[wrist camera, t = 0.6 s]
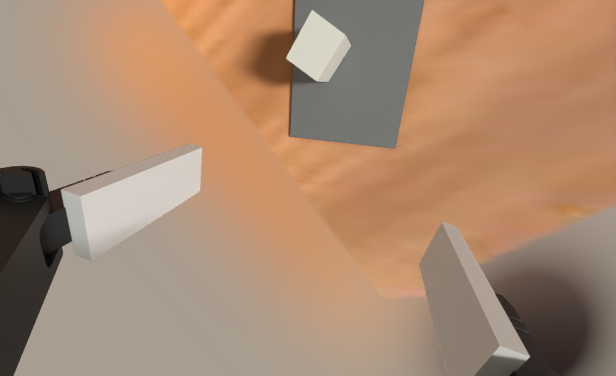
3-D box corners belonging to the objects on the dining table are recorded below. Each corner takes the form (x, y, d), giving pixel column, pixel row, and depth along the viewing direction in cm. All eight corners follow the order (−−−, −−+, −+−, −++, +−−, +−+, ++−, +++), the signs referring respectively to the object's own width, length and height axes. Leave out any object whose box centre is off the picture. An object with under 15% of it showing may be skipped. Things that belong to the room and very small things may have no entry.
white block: (304, 63, 34) (285, 58, 27) (325, 26, 32) (311, 9, 25) (328, 81, 35) (316, 81, 27) (351, 45, 32) (345, 34, 25)
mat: (296, -11, 32) (295, -12, 32) (425, -10, 29) (426, -11, 29) (290, 136, 39) (290, 136, 38) (394, 147, 36) (395, 148, 36)
